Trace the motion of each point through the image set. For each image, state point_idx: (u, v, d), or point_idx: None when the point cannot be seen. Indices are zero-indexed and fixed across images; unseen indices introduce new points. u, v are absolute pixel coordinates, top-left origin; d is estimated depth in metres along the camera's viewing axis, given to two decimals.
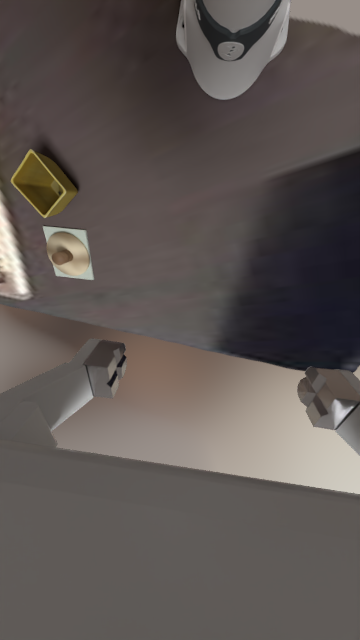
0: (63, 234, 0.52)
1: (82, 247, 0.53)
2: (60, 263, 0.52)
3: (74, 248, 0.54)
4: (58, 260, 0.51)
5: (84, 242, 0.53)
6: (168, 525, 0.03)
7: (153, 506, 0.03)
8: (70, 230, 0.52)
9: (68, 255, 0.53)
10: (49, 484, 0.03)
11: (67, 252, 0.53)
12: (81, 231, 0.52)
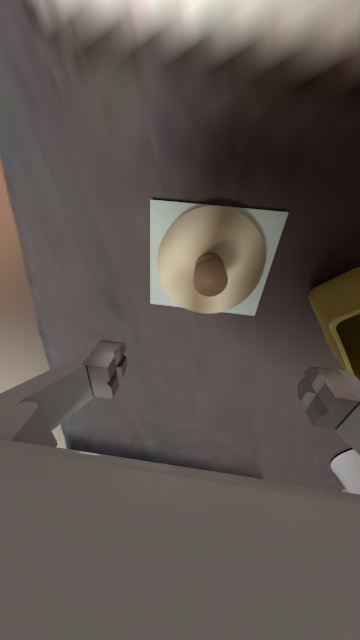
0: (258, 274, 0.22)
1: (223, 308, 0.24)
2: (198, 285, 0.18)
3: (223, 290, 0.23)
4: (206, 282, 0.18)
5: None
6: (168, 525, 0.03)
7: (153, 506, 0.03)
8: (261, 285, 0.23)
9: None
10: (48, 485, 0.03)
11: None
12: (254, 308, 0.25)
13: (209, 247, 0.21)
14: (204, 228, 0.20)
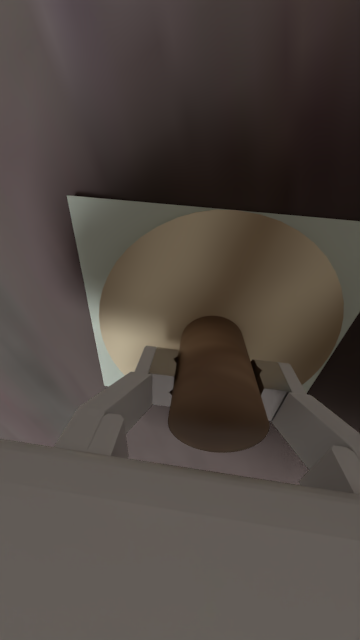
0: (318, 358, 0.10)
1: None
2: (183, 431, 0.07)
3: None
4: (207, 429, 0.06)
5: None
6: (168, 525, 0.03)
7: (153, 506, 0.03)
8: None
9: None
10: (48, 485, 0.03)
11: None
12: None
13: (212, 305, 0.09)
14: (201, 265, 0.08)
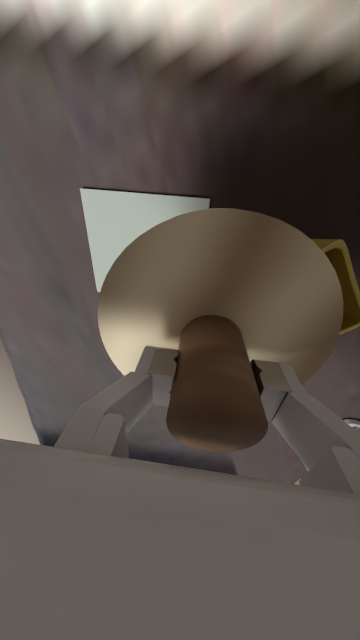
0: (318, 357, 0.10)
1: None
2: (181, 431, 0.07)
3: None
4: (205, 428, 0.06)
5: None
6: (168, 525, 0.03)
7: (153, 506, 0.03)
8: None
9: None
10: (48, 485, 0.03)
11: None
12: None
13: (211, 304, 0.09)
14: (199, 265, 0.08)
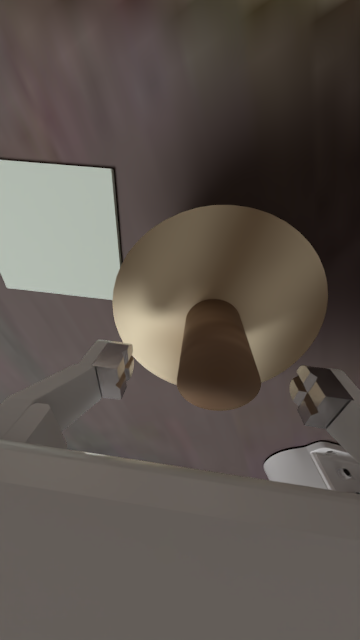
0: (308, 336, 0.11)
1: None
2: (189, 390, 0.08)
3: None
4: (209, 387, 0.08)
5: (95, 291, 0.22)
6: (168, 525, 0.03)
7: (153, 506, 0.03)
8: (115, 263, 0.20)
9: None
10: (48, 485, 0.03)
11: None
12: None
13: (212, 289, 0.10)
14: (202, 254, 0.09)
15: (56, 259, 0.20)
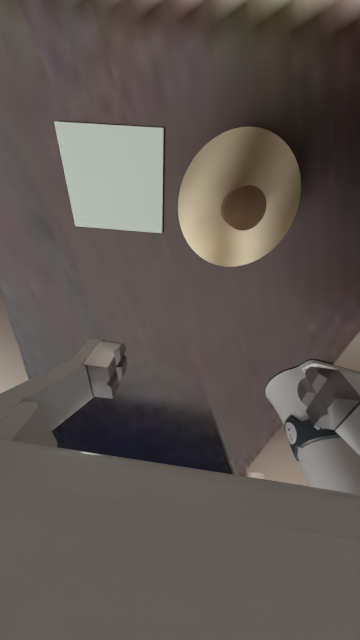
0: (291, 213, 0.19)
1: (250, 258, 0.22)
2: (231, 215, 0.16)
3: (251, 235, 0.21)
4: (241, 211, 0.16)
5: (142, 225, 0.30)
6: (168, 525, 0.03)
7: (153, 506, 0.03)
8: (159, 201, 0.28)
9: None
10: (49, 484, 0.03)
11: None
12: (159, 224, 0.29)
13: (238, 182, 0.18)
14: (233, 157, 0.17)
15: (116, 199, 0.28)
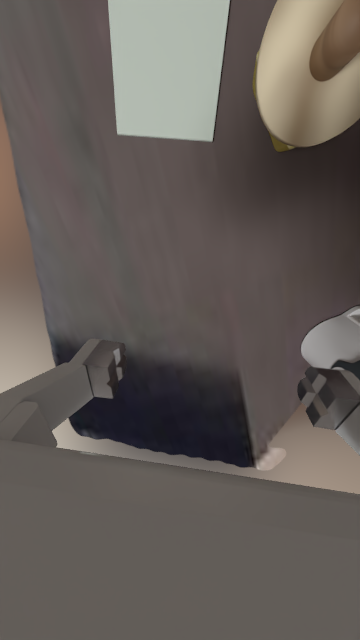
0: None
1: (333, 132, 0.19)
2: (346, 23, 0.13)
3: (340, 96, 0.18)
4: None
5: (191, 131, 0.27)
6: (168, 525, 0.03)
7: (153, 506, 0.03)
8: (214, 98, 0.25)
9: (339, 68, 0.16)
10: (48, 485, 0.03)
11: (346, 63, 0.16)
12: (211, 130, 0.27)
13: None
14: None
15: (166, 97, 0.26)
